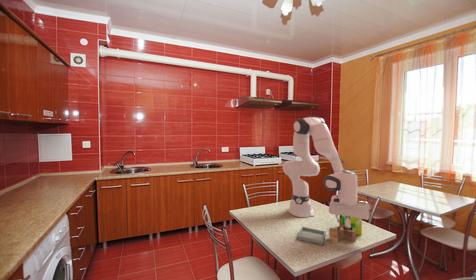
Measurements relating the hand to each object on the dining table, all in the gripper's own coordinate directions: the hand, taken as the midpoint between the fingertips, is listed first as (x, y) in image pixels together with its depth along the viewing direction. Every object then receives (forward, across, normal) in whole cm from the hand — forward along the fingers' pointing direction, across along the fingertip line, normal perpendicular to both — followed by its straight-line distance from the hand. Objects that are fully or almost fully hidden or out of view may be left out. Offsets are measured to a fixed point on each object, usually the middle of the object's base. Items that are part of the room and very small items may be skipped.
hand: (348, 223), depth 118 cm
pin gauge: (+8, 0, 0) cm, 8 cm away
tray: (+8, +18, +10) cm, 22 cm away
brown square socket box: (+8, 0, 0) cm, 8 cm away
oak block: (+8, +7, +8) cm, 13 cm away
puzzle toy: (+8, -1, -10) cm, 13 cm away
